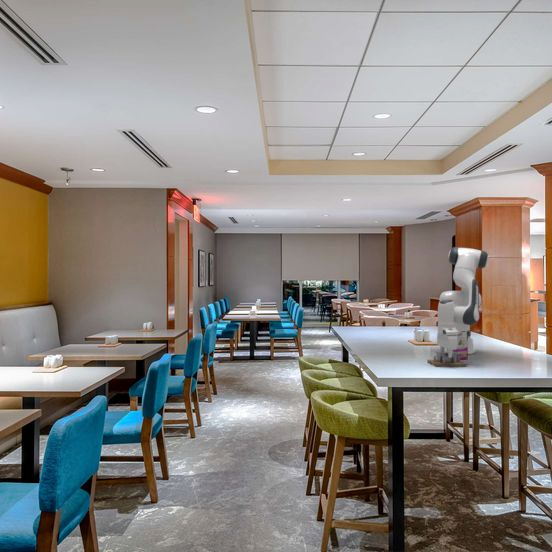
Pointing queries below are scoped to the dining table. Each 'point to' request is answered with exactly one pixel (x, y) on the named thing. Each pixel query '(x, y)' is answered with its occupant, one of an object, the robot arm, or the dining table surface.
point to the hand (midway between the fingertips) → (446, 356)
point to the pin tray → (452, 364)
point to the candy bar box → (461, 345)
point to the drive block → (447, 359)
